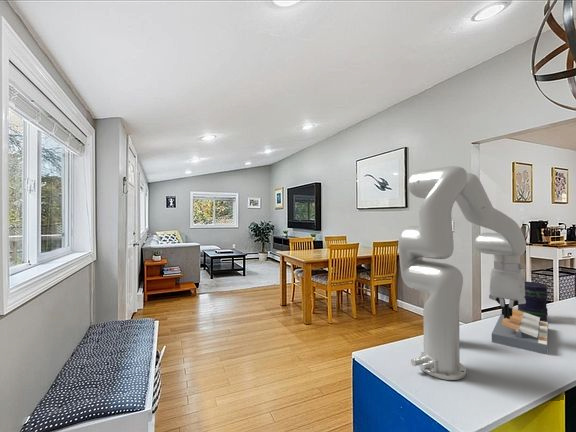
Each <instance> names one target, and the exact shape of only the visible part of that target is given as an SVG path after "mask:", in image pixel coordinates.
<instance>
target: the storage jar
mask: <svg viewBox="0 0 576 432" xmlns="http://www.w3.org/2000/svg"><path fill="white" fill-rule="evenodd" d="M524 282H525V300H526V303H525V304H517V310H519V311H522V312H525V313H528V314H531V315H534V316H537V317H540V321H544V322H548V313H549V312H548V308H547V307H548V306H547V301H548V296H549V295H548V293H549V292H548V285H547V284H545V283H541V282H535V281H524Z"/></svg>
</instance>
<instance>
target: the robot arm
mask: <svg viewBox="0 0 576 432" xmlns="http://www.w3.org/2000/svg"><path fill="white" fill-rule="evenodd" d="M407 188H408V190H409V192H410V194H411V195H412V196H414V197H416V198H418V199H423V200H422V202H421V204H420V207H419V209H418V210H419V211H418V216H419V217H418V218H419V219H418V221H419V225H410V226H407V227H405V228H404V229H402V231H401V232H400V234H399V236H398V237H399V238H398V240H397V241H398V242H397V243H398V244H397V245H398V248H397V249H398V256H399V266H400V274H401V279H402V281H403V283H404V285H406V286H407V287H408V288H411V289H413V290H416V291H420V292H425V293H427V294H430V295H429V297H428V298H427V300H426V301H425V303H424V305H423V310H422V314H423V317H422V318H423V351H421V353H420V356H419V357H418V358H417V357H416V358H413V359H411V360H410V365H412V367H419V369H420V370H421V371H423V372H424V373H425V374H426V375H428V376H431V377H434V378H437V379H440V380H441V379H442V380H447V381H455V380H457V381H458V380H462V379H463V378H465V377H466V375H467V369H466V367H465V366H464V365H463V364H462V362H461V359H460V357H461V355H460V351H461V350H460V346H461V345H460V342H461V341H460V303H461V301H460V300H461V294H462V288H463V283H464V277H463V273H462V272H461V270H460V269H458V268H457V267H456V266H454V265H452V264H449V263H444V262H438V261H431V260H423V259H424V258H426V259H434V260H445V259H449V258H451V256H452V255H453V253H454V248H455V247H454V233H453V232H454V231H453V221H452V219H453V218H452V211H453V206H454V203H455V202H456V203H457V205H458V207H459V208H460V210H461V212H462V214H463V217H464V218H465V220H466V221H467V222H470V223H471V224H474V225H475V226H479V227H481V228H485V229H489V230H491V231H494V232H482V233H480V234H478V235H476V237H475V239H474V247H475V249H476V250H477V251H478V252H480V253H482V254H485V255H493V268H492V269H491V272H490V278H489V295H488V298H489V300H492V301H495V302H497V303H498V304H499V306H500V307H501V314H502V315H504V318H508V319H510V316H512V308H513V309H514V307H515V306H518V304H525V303H526V300H525V282H526V281H525V275H524V271H522V269H523V270H524V269H526V265H525V264H522V263H521V261H520V259H521V256H522V255H524V253H525V252H526V249H527V242H526V239H525V236H524V233H523V232H522V229H521V227H520V225H519V223H517V222H516V220H514V219H513V218H511V217H510V216H508V215H507V214H505V213H504V212H502V211H501V210H498V209H497V208H494V207H493V204H492V202H491V200H490V198H489V197H488V194H487V192H486V190H485V188H484V185H483V184H482V181H481V180H480V178H479V177H478V176H477V175H476V174H475V173H471V172H467V170H466V169H465V168H463V167H462V166H457V165H456V166H455V165H453V166H452V165H451V166H450V165H449V166H442V167H436V168H431V169H429V168H428V169H425V170H419V171H418V170H417V171H415V172H414V173H412V174H411V175H410V176H409V177H408V181H407ZM506 300H509V303H508V304H507V303H506Z"/></svg>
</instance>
